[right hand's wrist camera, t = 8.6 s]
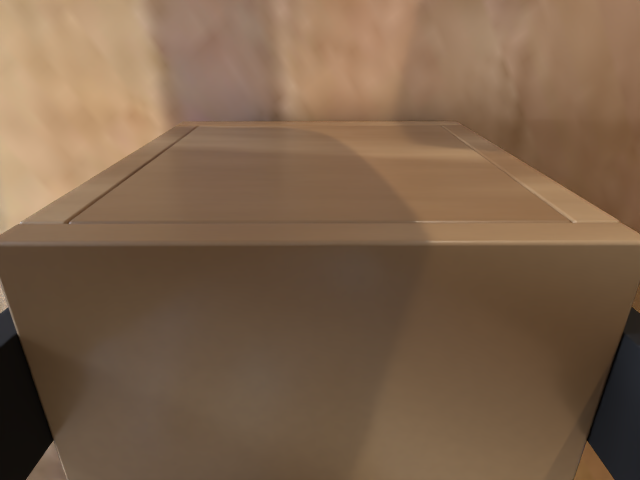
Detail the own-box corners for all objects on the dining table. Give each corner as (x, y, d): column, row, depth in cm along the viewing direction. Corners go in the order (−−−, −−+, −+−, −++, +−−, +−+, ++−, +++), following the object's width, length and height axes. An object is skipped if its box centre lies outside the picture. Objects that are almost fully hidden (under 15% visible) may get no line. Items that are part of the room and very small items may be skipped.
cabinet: (415, 467, 26) (480, 761, 16) (225, 468, 26) (161, 762, 16) (457, 120, 18) (656, 241, 7) (181, 121, 18) (-17, 242, 7)
